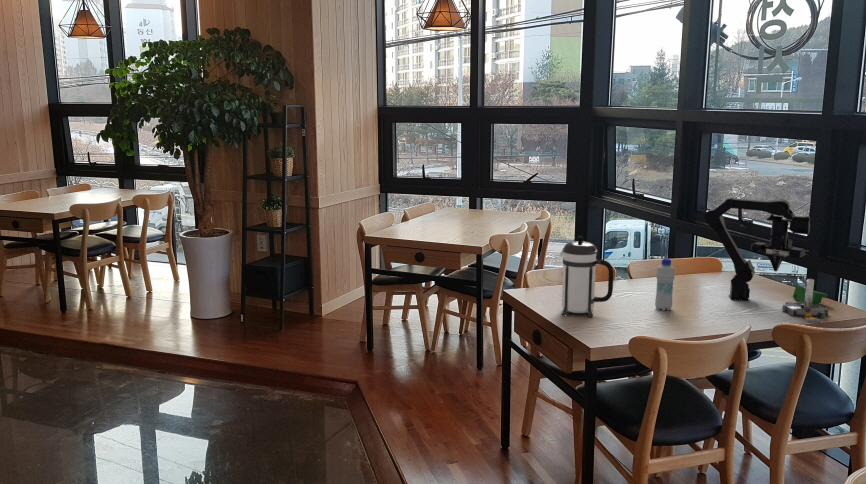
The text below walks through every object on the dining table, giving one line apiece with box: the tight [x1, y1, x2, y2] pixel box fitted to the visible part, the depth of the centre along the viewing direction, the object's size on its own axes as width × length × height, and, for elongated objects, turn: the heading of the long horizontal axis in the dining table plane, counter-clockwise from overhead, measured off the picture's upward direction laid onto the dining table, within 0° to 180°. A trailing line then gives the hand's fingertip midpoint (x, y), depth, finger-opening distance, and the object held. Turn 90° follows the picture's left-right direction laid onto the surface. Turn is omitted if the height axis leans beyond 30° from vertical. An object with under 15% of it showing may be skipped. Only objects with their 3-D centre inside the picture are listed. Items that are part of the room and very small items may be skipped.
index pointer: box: [804, 317, 821, 324], centre depth 259 cm, size 4×3×1 cm
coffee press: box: [558, 235, 614, 318], centre depth 269 cm, size 17×16×30 cm
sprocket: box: [781, 278, 829, 319], centre depth 268 cm, size 15×15×14 cm
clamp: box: [792, 285, 828, 305], centre depth 282 cm, size 12×6×9 cm, turn 6°
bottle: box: [654, 258, 676, 312], centre depth 273 cm, size 7×7×20 cm
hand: (775, 271), depth 280 cm, fingers closed
